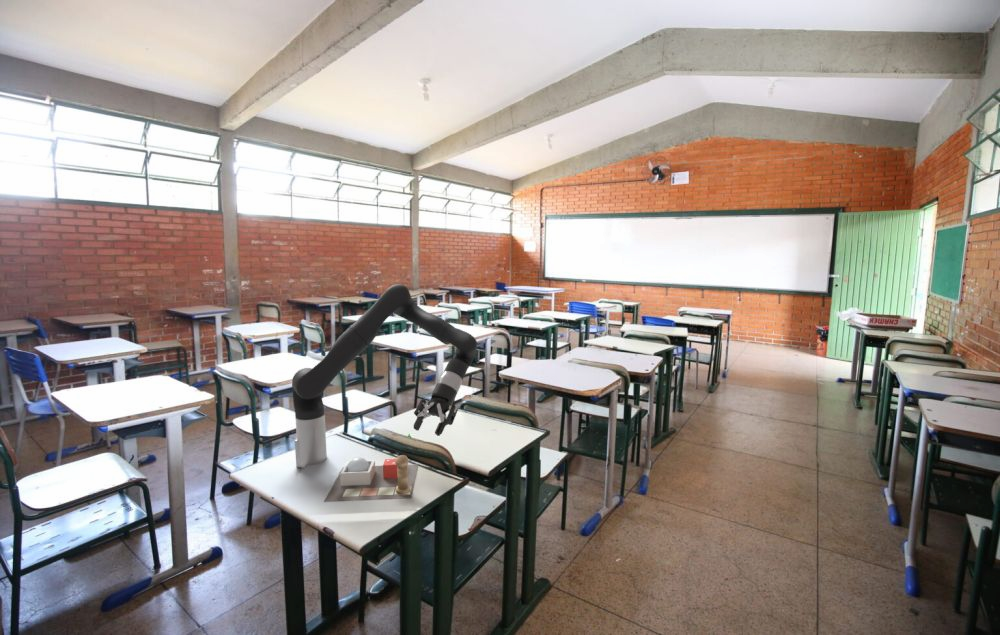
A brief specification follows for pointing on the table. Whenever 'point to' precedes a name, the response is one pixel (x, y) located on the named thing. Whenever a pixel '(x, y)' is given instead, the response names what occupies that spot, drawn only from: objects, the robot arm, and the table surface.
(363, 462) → the white ball
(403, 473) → the pawn
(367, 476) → the housing
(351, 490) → the board
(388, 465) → the die
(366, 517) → the table surface
